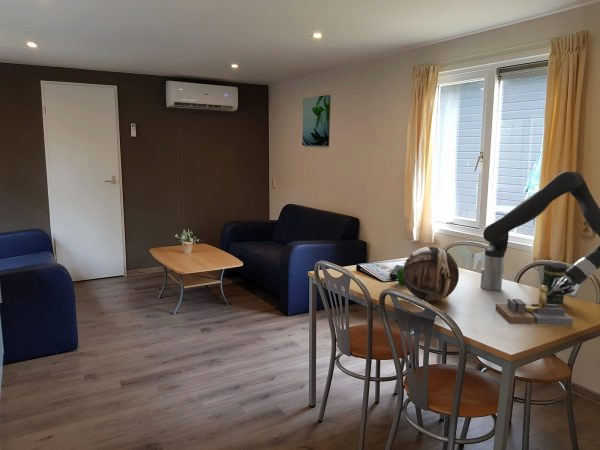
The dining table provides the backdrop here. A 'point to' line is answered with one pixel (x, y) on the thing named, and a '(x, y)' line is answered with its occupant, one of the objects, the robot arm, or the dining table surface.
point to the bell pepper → (400, 276)
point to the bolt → (542, 300)
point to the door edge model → (533, 314)
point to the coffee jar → (550, 274)
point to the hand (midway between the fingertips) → (547, 298)
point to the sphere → (430, 274)
